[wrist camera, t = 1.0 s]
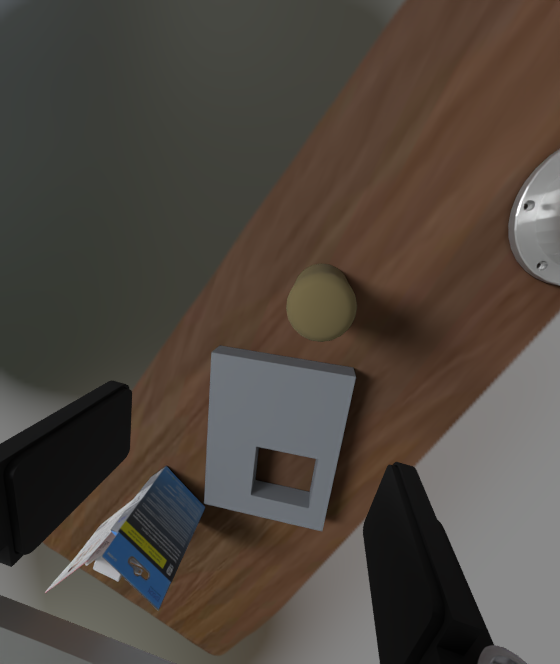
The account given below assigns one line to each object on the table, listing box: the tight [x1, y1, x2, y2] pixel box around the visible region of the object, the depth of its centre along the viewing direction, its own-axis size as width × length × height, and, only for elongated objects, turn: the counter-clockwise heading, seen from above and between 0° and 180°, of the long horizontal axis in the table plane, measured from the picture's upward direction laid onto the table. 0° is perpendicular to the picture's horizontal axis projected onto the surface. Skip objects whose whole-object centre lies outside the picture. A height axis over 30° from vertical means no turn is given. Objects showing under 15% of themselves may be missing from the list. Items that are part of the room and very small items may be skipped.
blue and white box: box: [102, 466, 205, 611], centre depth 34 cm, size 9×4×12 cm, turn 39°
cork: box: [286, 264, 357, 342], centre depth 24 cm, size 6×6×11 cm
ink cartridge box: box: [45, 500, 133, 593], centre depth 38 cm, size 2×11×10 cm, turn 133°
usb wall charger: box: [93, 555, 143, 581], centre depth 43 cm, size 4×7×4 cm, turn 66°
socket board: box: [204, 346, 356, 531], centre depth 33 cm, size 16×22×2 cm
